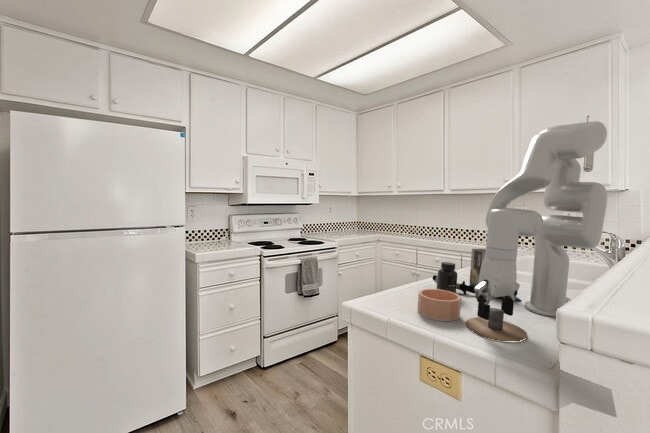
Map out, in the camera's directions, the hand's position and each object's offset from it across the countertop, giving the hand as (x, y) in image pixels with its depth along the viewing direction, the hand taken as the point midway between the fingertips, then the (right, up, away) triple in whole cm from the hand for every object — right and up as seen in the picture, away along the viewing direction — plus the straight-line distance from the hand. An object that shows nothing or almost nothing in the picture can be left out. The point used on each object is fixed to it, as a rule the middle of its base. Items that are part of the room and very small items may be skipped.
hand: (495, 316), depth 90 cm
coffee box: (+14, -2, +38) cm, 40 cm away
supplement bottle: (-2, -2, +30) cm, 31 cm away
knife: (+8, -2, +31) cm, 33 cm away
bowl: (-12, -3, +11) cm, 17 cm away
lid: (0, -5, +1) cm, 5 cm away
